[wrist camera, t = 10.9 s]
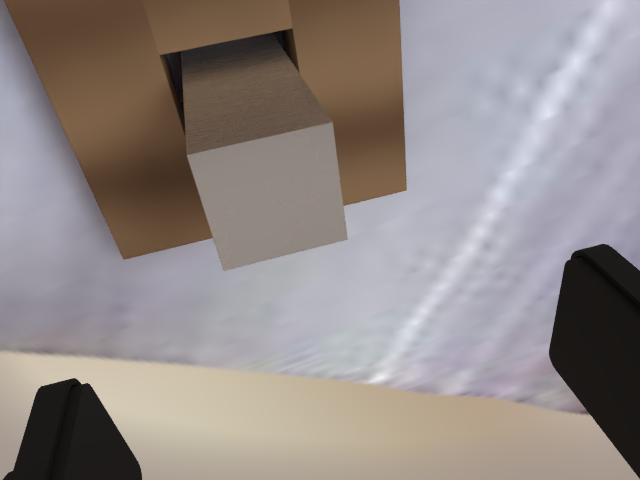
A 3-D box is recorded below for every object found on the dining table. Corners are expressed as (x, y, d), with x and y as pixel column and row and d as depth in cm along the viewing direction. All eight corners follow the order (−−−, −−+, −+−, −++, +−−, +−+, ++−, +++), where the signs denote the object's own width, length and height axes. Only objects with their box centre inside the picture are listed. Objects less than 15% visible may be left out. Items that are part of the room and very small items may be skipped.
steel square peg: (285, 115, 25) (347, 239, 16) (204, 133, 25) (223, 270, 16) (270, 30, 23) (332, 122, 14) (180, 48, 22) (186, 155, 14)
